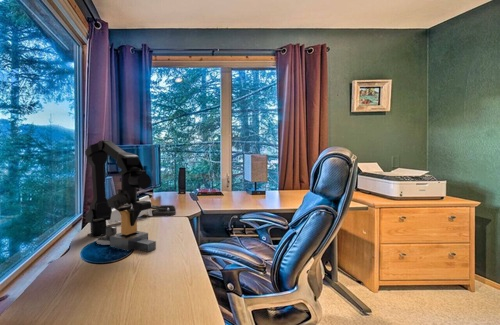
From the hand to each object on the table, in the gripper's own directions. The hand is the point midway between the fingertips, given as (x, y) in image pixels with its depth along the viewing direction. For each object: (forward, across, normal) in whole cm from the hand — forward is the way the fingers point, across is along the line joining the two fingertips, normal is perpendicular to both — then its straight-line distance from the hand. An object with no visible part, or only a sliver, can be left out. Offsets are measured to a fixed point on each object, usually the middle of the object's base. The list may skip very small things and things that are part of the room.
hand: (129, 225), depth 113 cm
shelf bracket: (+9, -32, +29) cm, 44 cm away
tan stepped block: (+3, 0, 0) cm, 3 cm away
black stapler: (+9, -32, +46) cm, 56 cm away
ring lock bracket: (+8, -2, 0) cm, 8 cm away
